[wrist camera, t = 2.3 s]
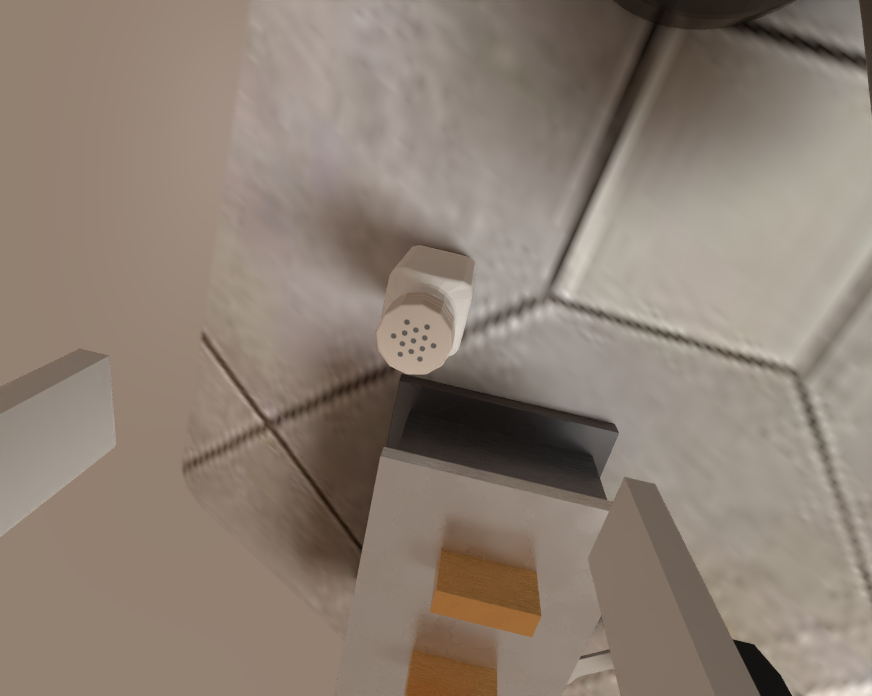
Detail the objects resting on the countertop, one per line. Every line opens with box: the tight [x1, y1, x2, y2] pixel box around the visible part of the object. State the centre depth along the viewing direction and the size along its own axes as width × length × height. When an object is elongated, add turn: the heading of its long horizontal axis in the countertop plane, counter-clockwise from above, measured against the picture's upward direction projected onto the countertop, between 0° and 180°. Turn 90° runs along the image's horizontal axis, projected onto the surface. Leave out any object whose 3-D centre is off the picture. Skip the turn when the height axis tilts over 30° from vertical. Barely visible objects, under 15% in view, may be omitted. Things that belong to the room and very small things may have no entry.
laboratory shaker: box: [334, 374, 619, 696], centre depth 29 cm, size 19×14×11 cm
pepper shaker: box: [376, 245, 476, 374], centre depth 24 cm, size 4×4×10 cm
